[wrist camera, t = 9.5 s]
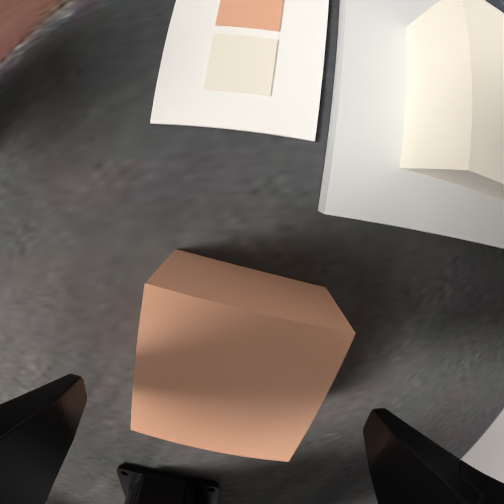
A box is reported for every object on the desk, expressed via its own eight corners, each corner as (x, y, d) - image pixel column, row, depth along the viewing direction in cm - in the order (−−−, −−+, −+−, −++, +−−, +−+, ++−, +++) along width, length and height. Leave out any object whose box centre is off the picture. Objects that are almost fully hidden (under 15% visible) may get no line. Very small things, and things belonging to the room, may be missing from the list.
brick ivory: (504, 201, 10) (568, 215, 6) (399, 168, 10) (468, 170, 6) (508, 79, 9) (566, 67, 5) (406, 27, 9) (459, -15, 5)
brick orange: (280, 398, 14) (288, 461, 10) (155, 370, 13) (130, 429, 9) (324, 285, 12) (355, 333, 8) (176, 247, 12) (145, 283, 8)
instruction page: (314, 141, 11) (315, 140, 10) (151, 123, 10) (149, 122, 10) (329, -25, 9) (330, -27, 9) (189, -39, 9) (188, -42, 8)
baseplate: (510, 248, 12) (522, 253, 11) (317, 210, 11) (324, 213, 10) (519, 56, 9) (530, 53, 8) (341, -29, 9) (346, -41, 8)
